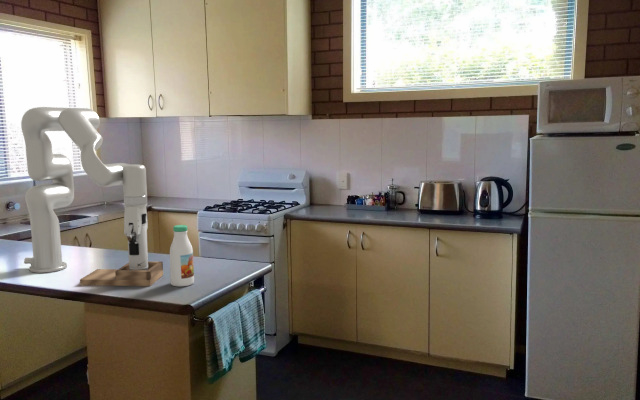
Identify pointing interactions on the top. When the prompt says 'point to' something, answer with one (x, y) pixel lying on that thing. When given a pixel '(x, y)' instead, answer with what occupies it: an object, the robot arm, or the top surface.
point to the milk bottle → (181, 258)
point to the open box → (125, 276)
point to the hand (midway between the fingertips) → (138, 252)
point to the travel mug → (140, 250)
